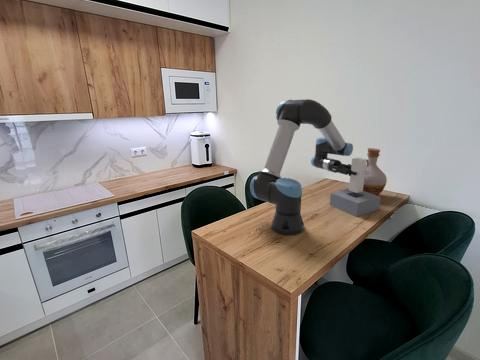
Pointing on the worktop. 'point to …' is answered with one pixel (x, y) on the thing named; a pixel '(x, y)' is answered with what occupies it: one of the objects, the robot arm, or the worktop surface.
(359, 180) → the post
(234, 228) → the worktop surface
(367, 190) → the jug
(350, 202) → the well block
